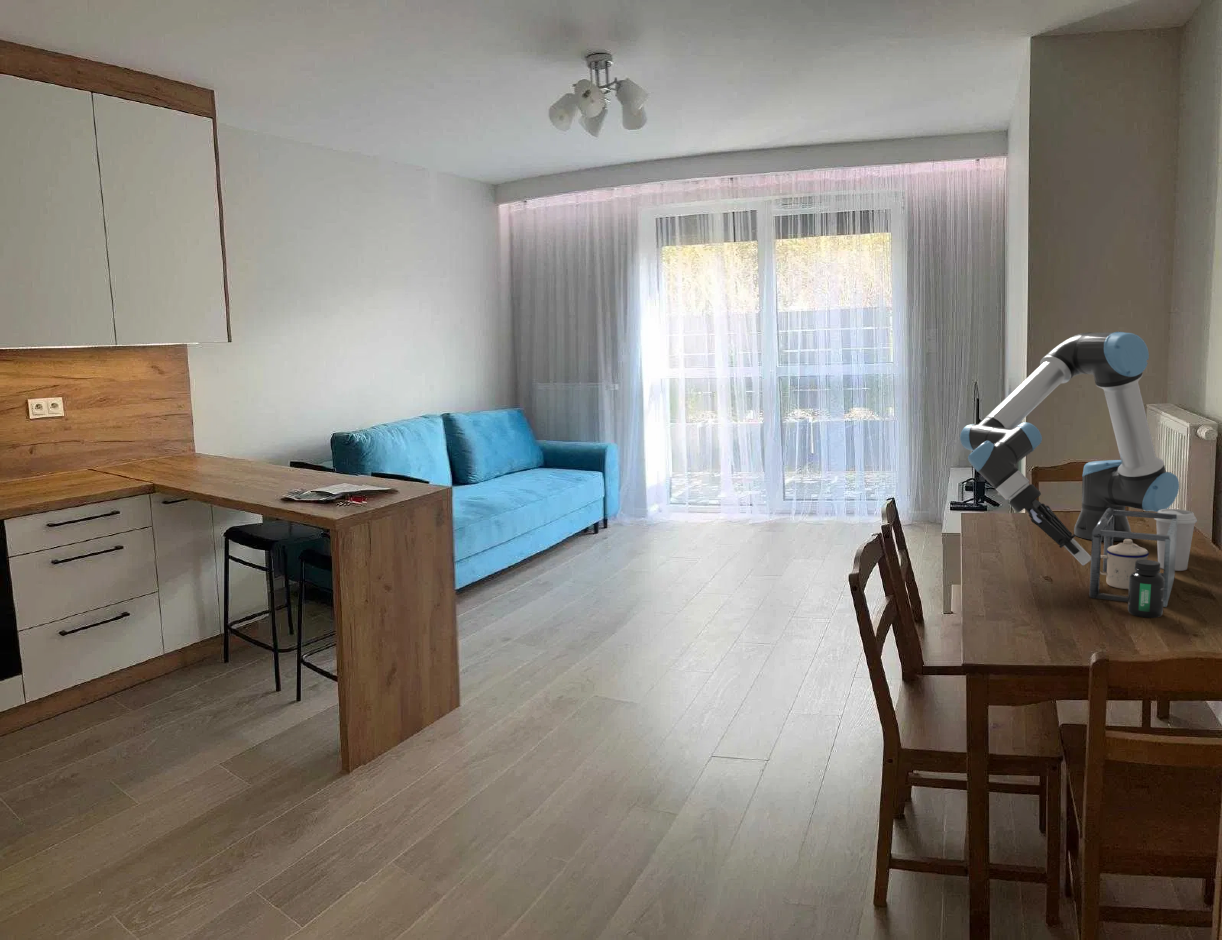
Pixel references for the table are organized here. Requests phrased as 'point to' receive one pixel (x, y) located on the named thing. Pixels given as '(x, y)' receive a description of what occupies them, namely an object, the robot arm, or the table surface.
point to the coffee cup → (1183, 536)
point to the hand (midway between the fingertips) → (1087, 561)
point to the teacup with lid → (1122, 562)
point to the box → (1108, 533)
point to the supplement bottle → (1146, 590)
